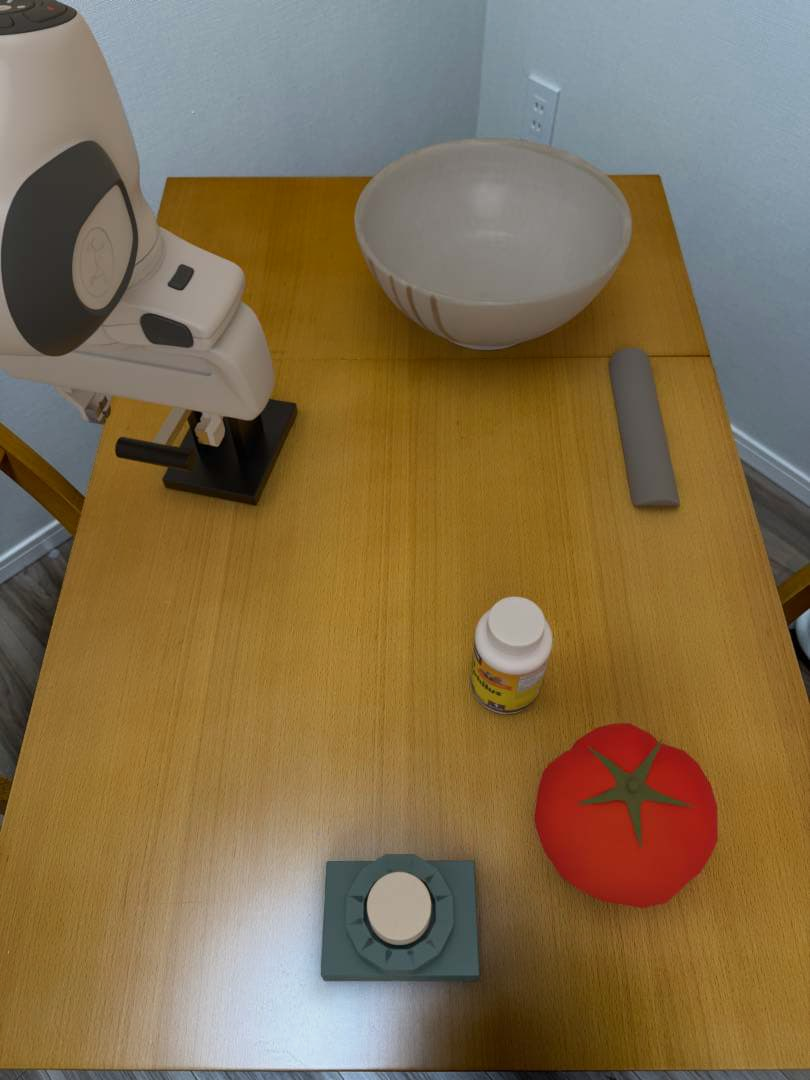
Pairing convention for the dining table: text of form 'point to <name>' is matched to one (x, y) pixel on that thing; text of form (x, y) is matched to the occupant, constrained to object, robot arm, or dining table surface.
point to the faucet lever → (160, 445)
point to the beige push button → (399, 908)
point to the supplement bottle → (510, 655)
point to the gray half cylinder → (642, 430)
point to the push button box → (429, 958)
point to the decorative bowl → (492, 238)
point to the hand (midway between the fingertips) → (155, 428)
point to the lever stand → (235, 455)
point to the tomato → (626, 816)
